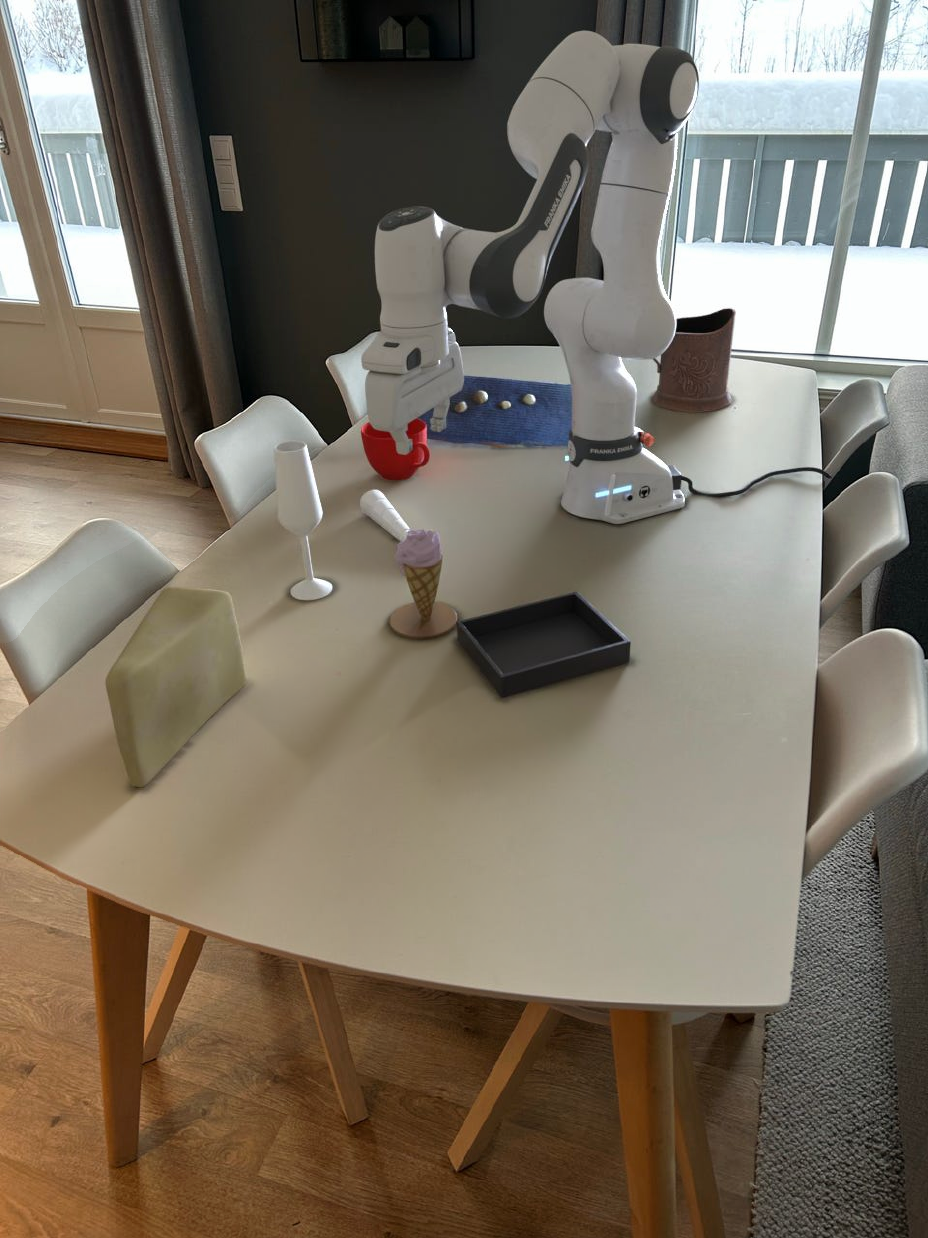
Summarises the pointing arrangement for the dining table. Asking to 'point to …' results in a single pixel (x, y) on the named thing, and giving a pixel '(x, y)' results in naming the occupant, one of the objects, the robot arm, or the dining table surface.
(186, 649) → the cheese
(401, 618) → the coaster
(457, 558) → the dining table surface
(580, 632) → the tray
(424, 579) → the ice cream cone
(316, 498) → the champagne flute
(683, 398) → the cup holder
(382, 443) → the ceramic cup
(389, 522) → the unicorn horn
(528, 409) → the mat
